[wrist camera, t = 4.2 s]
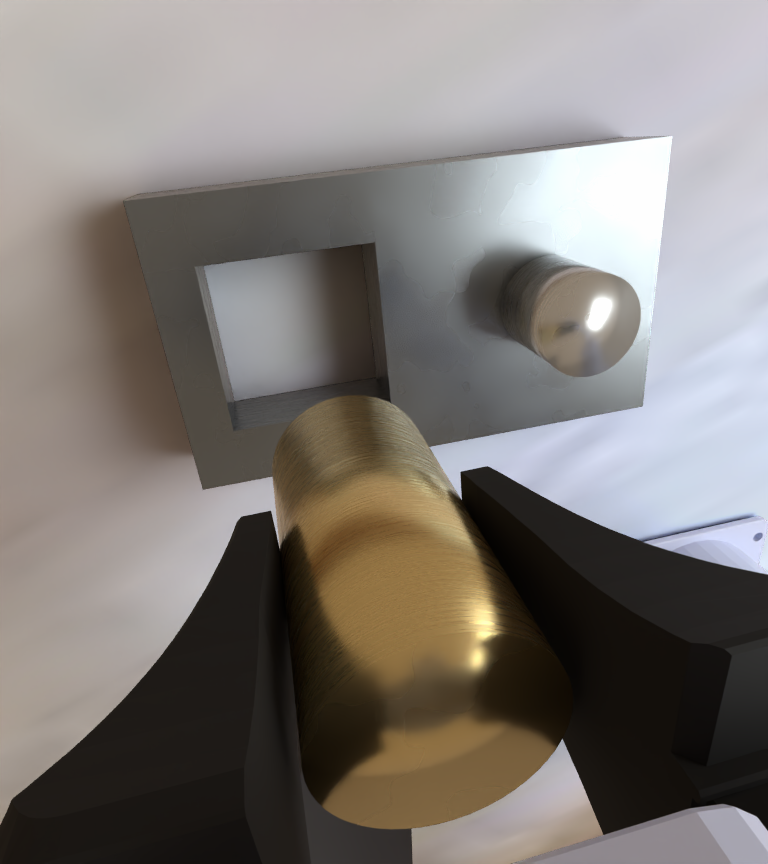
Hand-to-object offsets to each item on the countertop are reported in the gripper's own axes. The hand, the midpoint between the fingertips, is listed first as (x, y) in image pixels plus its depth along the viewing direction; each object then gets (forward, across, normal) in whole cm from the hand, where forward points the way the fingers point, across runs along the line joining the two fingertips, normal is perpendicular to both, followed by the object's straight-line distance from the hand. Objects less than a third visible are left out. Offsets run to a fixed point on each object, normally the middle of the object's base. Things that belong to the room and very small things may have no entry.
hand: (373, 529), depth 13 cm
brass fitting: (+3, 0, 0) cm, 3 cm away
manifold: (+10, -4, -2) cm, 11 cm away
